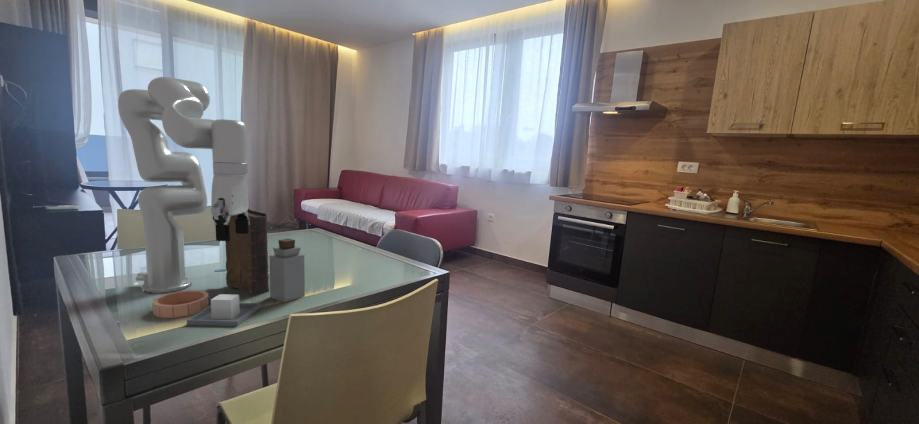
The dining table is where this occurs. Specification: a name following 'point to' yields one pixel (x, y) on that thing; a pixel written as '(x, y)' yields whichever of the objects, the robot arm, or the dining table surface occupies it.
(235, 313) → the white cube
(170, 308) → the terracotta bowl
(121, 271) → the dining table surface
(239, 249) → the book
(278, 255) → the perfume bottle
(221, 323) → the tray
